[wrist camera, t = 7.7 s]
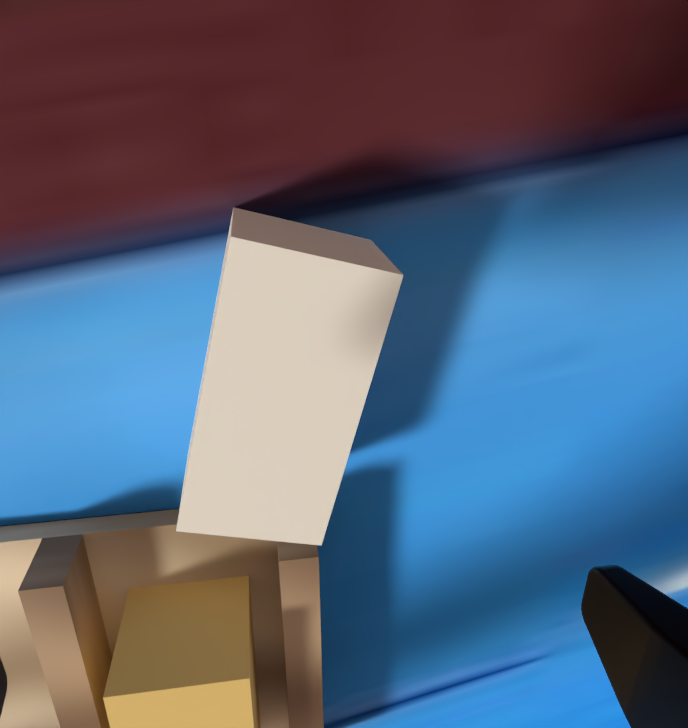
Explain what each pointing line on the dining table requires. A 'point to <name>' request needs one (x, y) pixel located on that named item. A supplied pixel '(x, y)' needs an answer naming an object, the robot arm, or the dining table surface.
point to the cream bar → (284, 378)
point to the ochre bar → (185, 658)
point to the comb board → (107, 601)
